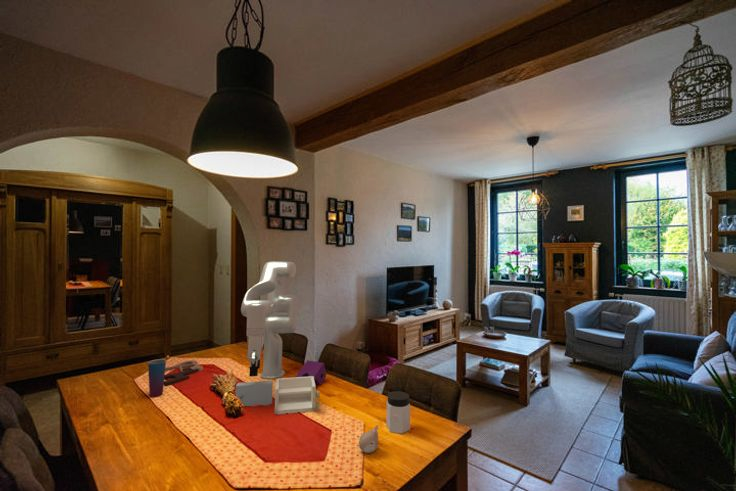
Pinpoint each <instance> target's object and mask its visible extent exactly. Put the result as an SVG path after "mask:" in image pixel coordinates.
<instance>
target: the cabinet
mask: <svg viewBox="0 0 736 491" xmlns="http://www.w3.org/2000/svg"><path fill="white" fill-rule="evenodd" d="M320 395H321V391H320V390H317V388H316V384H315V381H314V376H309V377H284V378H283V377H279V378H275V389H274V415H276V414H277V415H286V413H288V414H297V413H298V412H300V413H308V412H307V411H311V412H317V410H320V407H321V406H320V404H321V403H320V402H319V401H317V399H320Z"/></svg>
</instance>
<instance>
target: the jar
mask: <svg viewBox="0 0 736 491" xmlns="http://www.w3.org/2000/svg"><path fill="white" fill-rule="evenodd" d="M386 427H387V429H388V430H389V433H395V434H400V435H401V434H404V433H406V432H408V431H410V430H411V404H410V395H409V393H407V392H404V391H400V390H395V391H391V392H389V393H388V394H387V400H386Z"/></svg>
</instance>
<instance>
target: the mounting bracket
mask: <svg viewBox="0 0 736 491" xmlns="http://www.w3.org/2000/svg"><path fill="white" fill-rule="evenodd" d="M326 372H327V371H326V367H325V362H320V361H314V360H308V359H307V360H306V361H305V363H304V364H303V366H302V367H301V369H299V371H298V372H297V373H296V375H295V377H309V376H314V381H315V385H316V384H317V385H322V384H323V383H324V382H325V379H326V377H327V376H326V374H327V373H326Z"/></svg>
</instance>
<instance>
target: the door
mask: <svg viewBox="0 0 736 491" xmlns="http://www.w3.org/2000/svg"><path fill="white" fill-rule="evenodd" d="M273 383H274V382H273V380H264V381H247V382H237V383H236V385H235V398H236V397H237V398H239V399H240V401H241V403H242V404H243V406H251V407H255V406H254V405H263V406H270V405H269V404H272V405H273V388H274V387H273V385H274V384H273Z"/></svg>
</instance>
